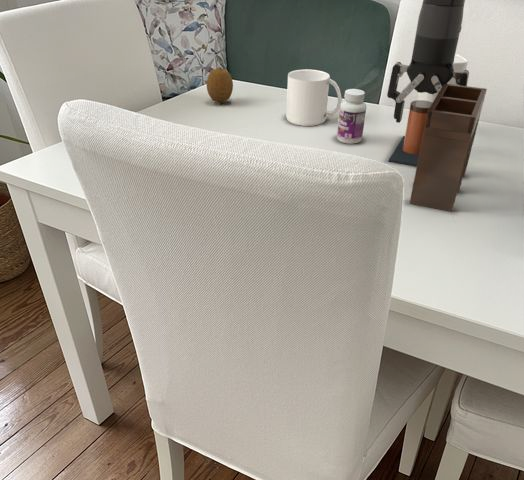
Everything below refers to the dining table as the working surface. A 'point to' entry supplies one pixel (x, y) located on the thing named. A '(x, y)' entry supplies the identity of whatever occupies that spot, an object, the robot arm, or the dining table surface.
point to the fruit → (219, 85)
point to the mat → (403, 156)
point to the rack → (446, 145)
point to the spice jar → (416, 126)
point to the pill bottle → (351, 117)
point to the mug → (309, 97)
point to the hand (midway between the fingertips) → (420, 124)
